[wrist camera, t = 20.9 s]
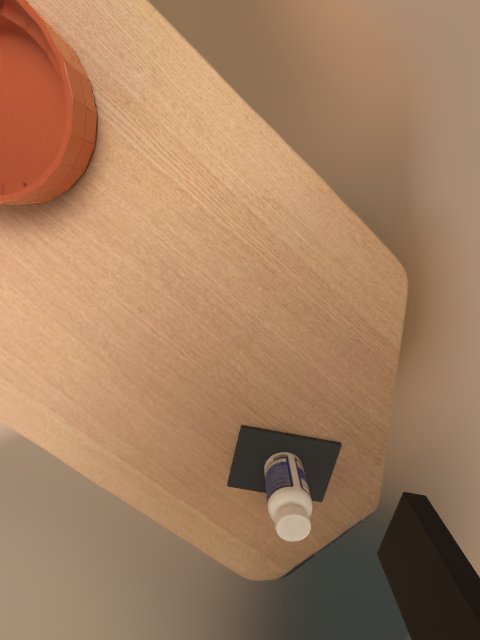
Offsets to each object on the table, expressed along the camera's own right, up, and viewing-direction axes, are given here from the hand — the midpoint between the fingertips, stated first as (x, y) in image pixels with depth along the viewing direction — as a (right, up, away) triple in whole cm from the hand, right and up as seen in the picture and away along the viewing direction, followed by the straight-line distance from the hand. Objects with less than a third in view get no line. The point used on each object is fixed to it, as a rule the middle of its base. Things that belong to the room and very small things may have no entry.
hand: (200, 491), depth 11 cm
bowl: (-23, +27, +24) cm, 43 cm away
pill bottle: (+7, -15, +36) cm, 40 cm away
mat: (+7, -15, +37) cm, 40 cm away
